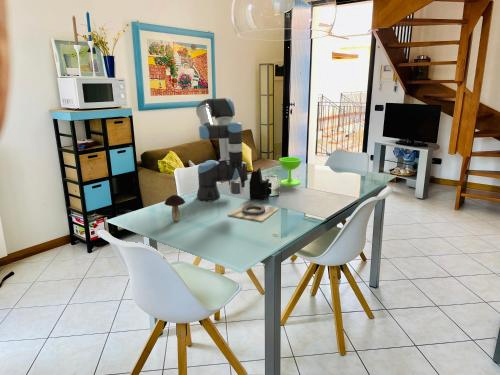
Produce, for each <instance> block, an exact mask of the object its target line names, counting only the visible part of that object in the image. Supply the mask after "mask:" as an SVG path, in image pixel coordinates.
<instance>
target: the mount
mask: <svg viewBox="0 0 500 375" xmlns="http://www.w3.org/2000/svg"><path fill="white" fill-rule="evenodd" d="M279 210H280V208H279V207H274V206H273V207H272V206H268V205H261V204H254V203H249V202H248V203H247V202H246V203H244V204H243V205H241V206H239V207H238V208H235V209H234V210H233V211H231V212H229V213H228V214H227V216H228V217H232V218H238V219H243V220H250V221H255V222H259V223H263V222H265V221H266V220H268V219H269V218H270V217H271V216H272V215H274V214H275V213H276V212H278V211H279Z"/></svg>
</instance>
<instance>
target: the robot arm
mask: <svg viewBox="0 0 500 375" xmlns="http://www.w3.org/2000/svg"><path fill="white" fill-rule="evenodd" d="M235 111H236V110H235V105H234V101H233V100H232V98H225V97H224V98H223V97H222V98H221V97H220V98H206V99H204V100H202V101H200V103H198V105H197V106H196V110H195V112H196V115H197V117H198V119H199V122H200V125H199V127H198V135H199V139H200V140H215V139H216V140H218V141H219V144H218V145H219V152H220V153H219V154H220V155H219V156H220V158H219V159H218V163H216V161H207V162H202V163H200V164H198V166H197V176H198V189H197V193H196V199H197V200H198V201H200V202H211V201H212V202H214V201H217V200H219V199H221V192H220V191H219V188H218V183H219V182H228V185H229V192H230V193H231V182H233V181H238V179H240V180H239V181H240V193H241V194H242V193H245V189H244V188H245V184H246V181H248V179H249V178H248V176H249V175H248V162H244V159H243V157H244V156H243V126H242V123H241V122H238V121H232V120H233V119H234V116H235V115H236V112H235ZM213 118H214V120H215V121H216V122H217V124H215V123H214V120H213Z"/></svg>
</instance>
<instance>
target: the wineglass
mask: <svg viewBox="0 0 500 375" xmlns="http://www.w3.org/2000/svg"><path fill="white" fill-rule="evenodd" d="M278 161H279V164H280V166H281V167H282V168H283V169H284V170H286V171H288V178H286V179H282V180H280V181H281V185H280V186H283V187H284V186H285V187H296V186H300V185H301V184H302V182H301V181H300V180H298V179H294V178H293V179H292V171H294V170H296V169H298V168H299V166H300V165H301V162H302V158H300V157H295V156H287V157H280V158H279V159H278Z"/></svg>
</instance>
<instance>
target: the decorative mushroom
mask: <svg viewBox="0 0 500 375" xmlns="http://www.w3.org/2000/svg"><path fill="white" fill-rule="evenodd" d="M185 203H186V201H185V200H184V198H183V197H181V196H180V195H177V194H173V195H169V197H168V198H166V199H165V202H164V205H165V206H168V207H171V219H172V221H174V222H179V221H180V219H181V213H180V209H179V206H181V205H184V204H185Z"/></svg>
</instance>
